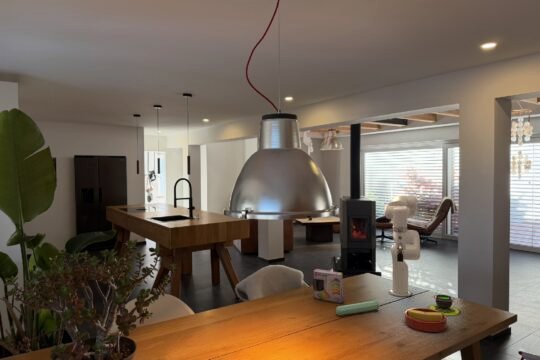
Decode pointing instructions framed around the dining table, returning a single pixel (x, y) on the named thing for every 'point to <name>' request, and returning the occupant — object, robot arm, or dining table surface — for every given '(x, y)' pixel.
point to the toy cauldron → (444, 305)
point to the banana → (426, 315)
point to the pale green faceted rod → (357, 308)
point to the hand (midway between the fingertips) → (400, 259)
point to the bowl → (425, 325)
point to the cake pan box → (328, 285)
